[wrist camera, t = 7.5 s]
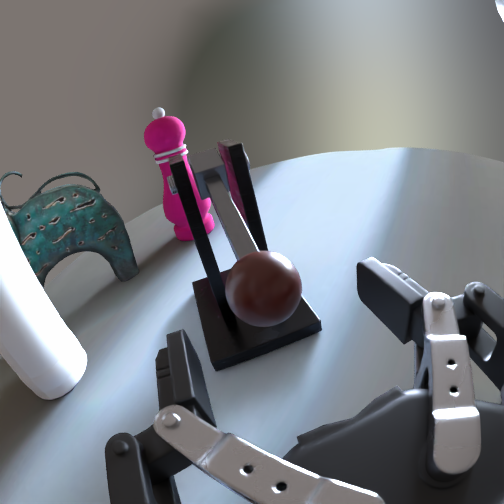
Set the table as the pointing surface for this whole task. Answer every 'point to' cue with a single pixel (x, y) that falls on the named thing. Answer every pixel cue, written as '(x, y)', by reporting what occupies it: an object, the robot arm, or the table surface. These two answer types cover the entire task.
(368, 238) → the table surface
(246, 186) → the lever bracket
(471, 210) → the table surface
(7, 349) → the bottle
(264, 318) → the press lever
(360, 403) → the table surface
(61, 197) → the ceramic cat
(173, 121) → the pepper mill
